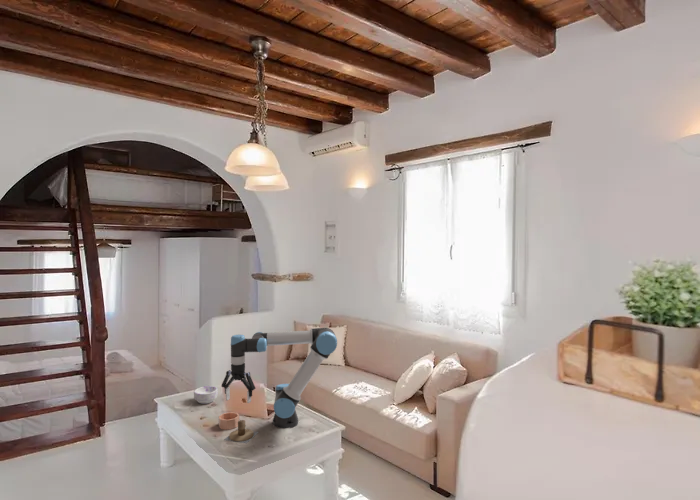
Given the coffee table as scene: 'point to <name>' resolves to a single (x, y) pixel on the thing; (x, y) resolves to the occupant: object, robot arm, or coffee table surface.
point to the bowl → (228, 420)
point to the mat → (241, 441)
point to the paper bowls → (205, 394)
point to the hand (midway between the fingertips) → (238, 401)
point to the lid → (241, 432)
